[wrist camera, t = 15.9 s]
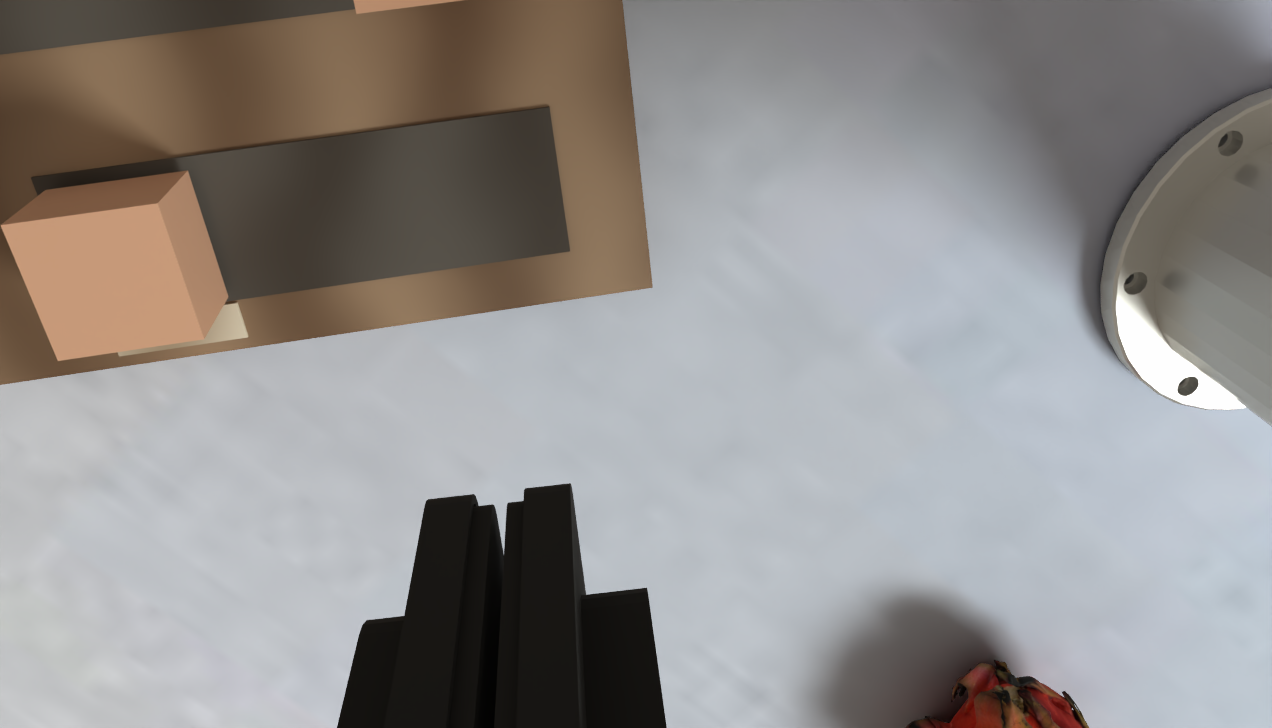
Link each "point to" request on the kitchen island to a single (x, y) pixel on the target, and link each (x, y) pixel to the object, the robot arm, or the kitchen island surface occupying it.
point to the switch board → (335, 155)
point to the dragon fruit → (1007, 703)
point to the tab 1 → (118, 264)
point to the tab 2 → (391, 4)
